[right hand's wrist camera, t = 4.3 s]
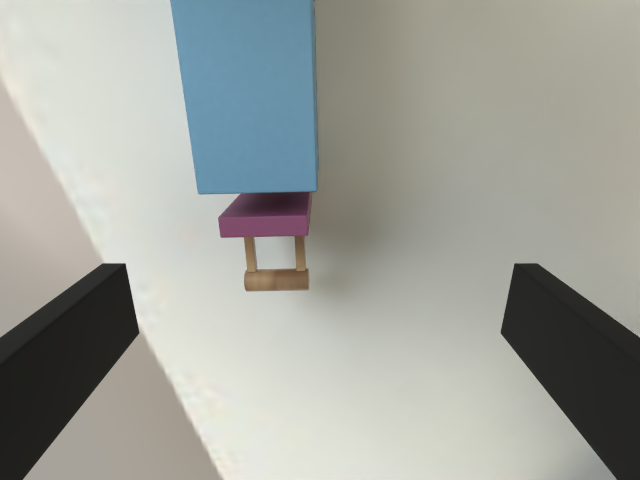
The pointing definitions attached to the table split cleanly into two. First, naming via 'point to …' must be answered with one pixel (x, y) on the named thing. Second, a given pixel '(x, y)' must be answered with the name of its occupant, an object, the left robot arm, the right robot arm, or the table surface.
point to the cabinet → (250, 93)
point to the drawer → (270, 220)
